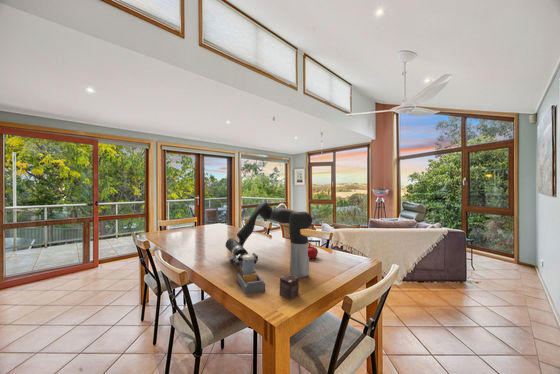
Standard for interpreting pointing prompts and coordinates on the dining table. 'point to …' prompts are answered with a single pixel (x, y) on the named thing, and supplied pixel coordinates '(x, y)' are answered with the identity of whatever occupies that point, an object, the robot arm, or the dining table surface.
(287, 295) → the box
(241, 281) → the grey open tray
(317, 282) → the dining table surface
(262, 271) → the dining table surface
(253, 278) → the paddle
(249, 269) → the jar
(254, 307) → the dining table surface
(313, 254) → the pomegranate
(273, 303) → the dining table surface
